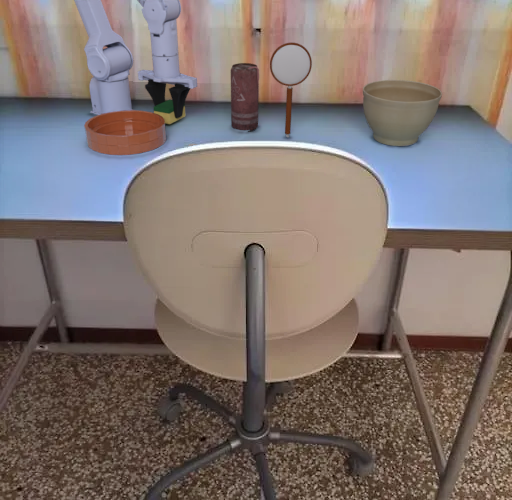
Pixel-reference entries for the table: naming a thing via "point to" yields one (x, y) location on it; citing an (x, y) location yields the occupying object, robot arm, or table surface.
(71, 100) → the table surface
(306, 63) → the magnifying glass
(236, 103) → the can
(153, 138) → the bowl
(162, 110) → the sponge
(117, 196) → the table surface
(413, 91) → the planter bowl
